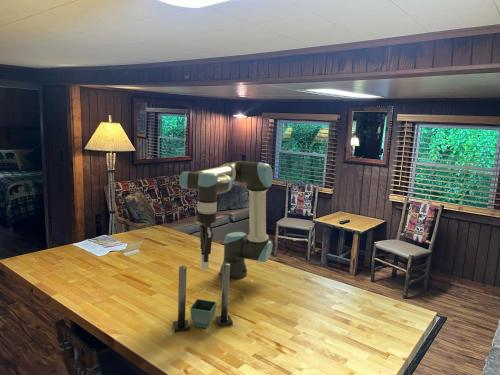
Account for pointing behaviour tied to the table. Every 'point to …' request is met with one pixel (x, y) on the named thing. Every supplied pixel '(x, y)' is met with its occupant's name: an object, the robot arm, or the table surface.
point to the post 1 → (181, 303)
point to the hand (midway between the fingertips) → (204, 268)
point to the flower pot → (202, 312)
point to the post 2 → (224, 298)
